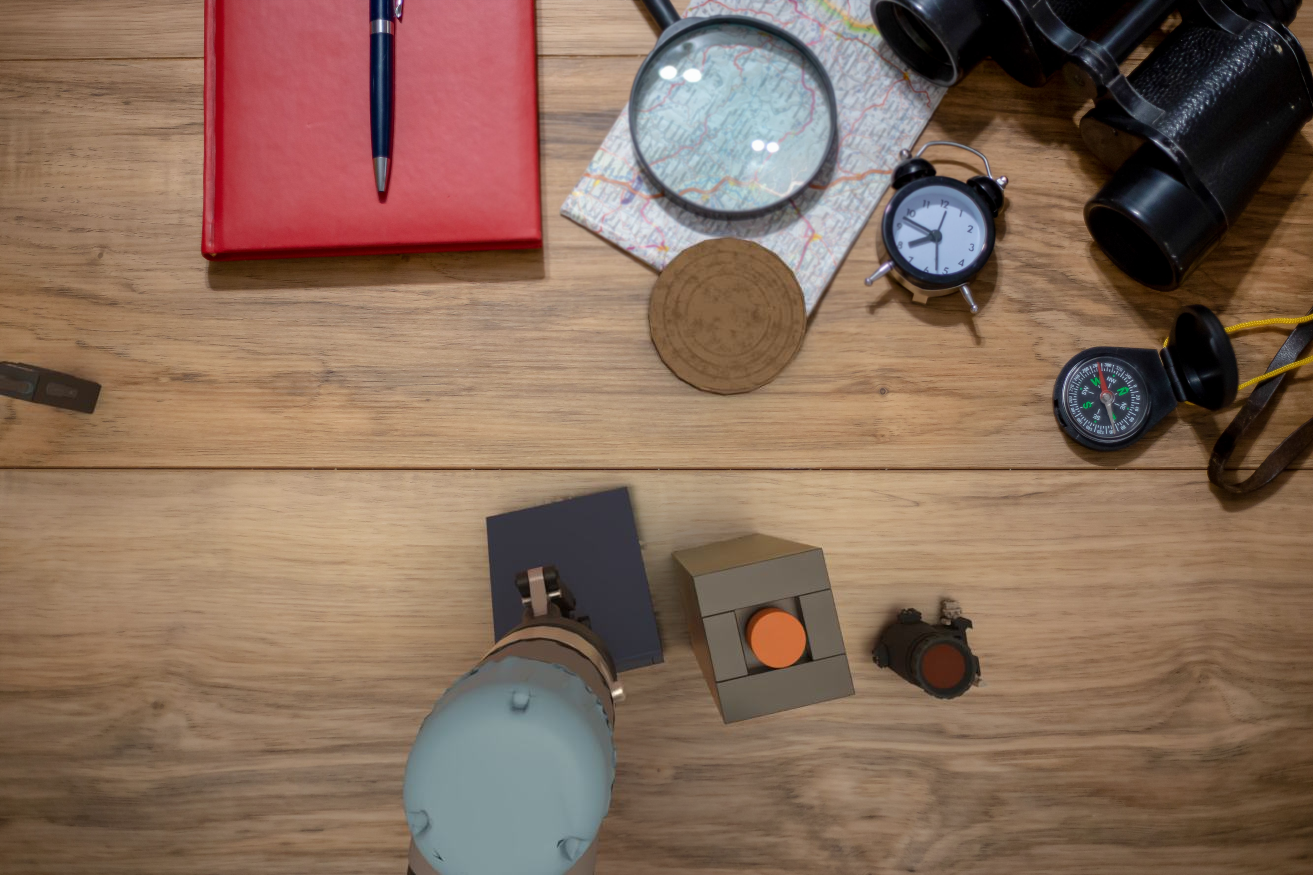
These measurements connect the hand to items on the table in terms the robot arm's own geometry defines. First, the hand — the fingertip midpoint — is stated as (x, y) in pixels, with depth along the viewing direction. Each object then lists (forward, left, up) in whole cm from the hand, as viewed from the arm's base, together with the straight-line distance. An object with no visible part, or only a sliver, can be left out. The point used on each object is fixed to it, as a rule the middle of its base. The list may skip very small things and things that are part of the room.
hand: (573, 632), depth 69 cm
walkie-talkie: (+31, +45, -19) cm, 58 cm away
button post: (-2, -14, -19) cm, 24 cm away
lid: (+3, 0, -5) cm, 6 cm away
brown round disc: (+25, -20, -19) cm, 38 cm away
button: (-2, -14, +11) cm, 18 cm away
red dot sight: (-11, -31, -19) cm, 38 cm away
